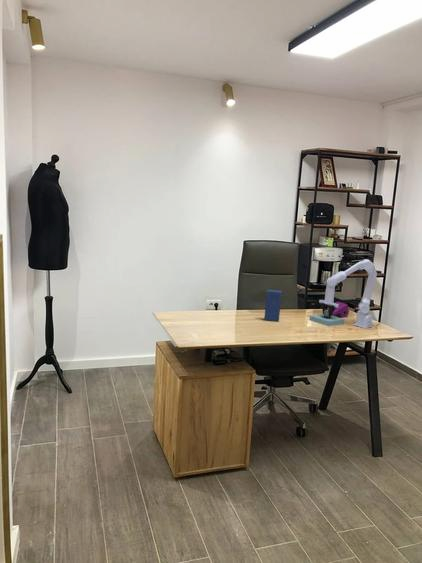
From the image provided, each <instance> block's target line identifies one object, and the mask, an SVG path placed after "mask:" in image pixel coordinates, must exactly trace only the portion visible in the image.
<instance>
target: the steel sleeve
mask: <svg viewBox="0 0 422 563" xmlns="http://www.w3.org/2000/svg"><path fill="white" fill-rule="evenodd" d="M327 308H328V307H327ZM327 308H326V309H324V318H326V319H330V317H329V309H327Z"/></svg>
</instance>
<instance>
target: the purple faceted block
mask: <svg viewBox="0 0 422 563" xmlns="http://www.w3.org/2000/svg"><path fill="white" fill-rule="evenodd" d="M335 303H336V304H339V305H338V307H336V309H335V310H334V312H333V314H332V316H335V317H336V316H339V318H342V319H344V318H345V319H346V318H347V317H348V316H349V313H350V310H349V305H348V304H347V303H344V302H341V301H336V302H335ZM327 309H329V307H327Z"/></svg>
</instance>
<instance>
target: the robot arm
mask: <svg viewBox="0 0 422 563" xmlns="http://www.w3.org/2000/svg"><path fill="white" fill-rule="evenodd" d="M359 270H360V271H362V270H365V271H366V273H367V274H368V276H367V280H366V284H365V288H364V292H363V293H362V294H363V295H362V297H361V299H360V302H359V303H358V305H357V307H358V310H357V315H356V321H355V323H353V324H352V325H353V326H356V327H359V328H362V329H369V328H373V326H372V325H373V320H374V319H373V315H372V314H370V311H371V310H370V305H371V298H372V294H373V291H374V287H375V283H376V280H377V276H378V272H377V269H376V267H375V264H374V263H373V262H372V261H371V260H369V259H368V258H367V259H366V258H365V259H362V260H360V261H359V262H357V263H355V264H354V265H352V266H351V267H349V268H347V269H346V270H344V271H343V270H342V271H338V272H337V273H336V274H334V275H331V277H329V278H327V280H326V288H325V295H324V299H318V300H319V301H318V302H319V304H320V307H321V309H322V314H323V315H324V309H326V308H329V317H331V316H332V314H333V312H334V310H335V309H336V307H338V305H339V304H336V302H334V300H335V299H334V298H335V292H336V289H335V288H336V285H337V284H339V283H341V282H342V281H345V280H346V279H347V276H349V275H350V274H352V273H354V272H356V271H359Z"/></svg>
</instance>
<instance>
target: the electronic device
mask: <svg viewBox="0 0 422 563" xmlns="http://www.w3.org/2000/svg"><path fill="white" fill-rule="evenodd" d="M282 292H283V291H282V290H279V289H277V290H276V289H275V290H274V289H266V295H265V296H266V298H265V308H264V318H263V319H264V321H269V322H280V313H281V304H282V296H283V295H282Z"/></svg>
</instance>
